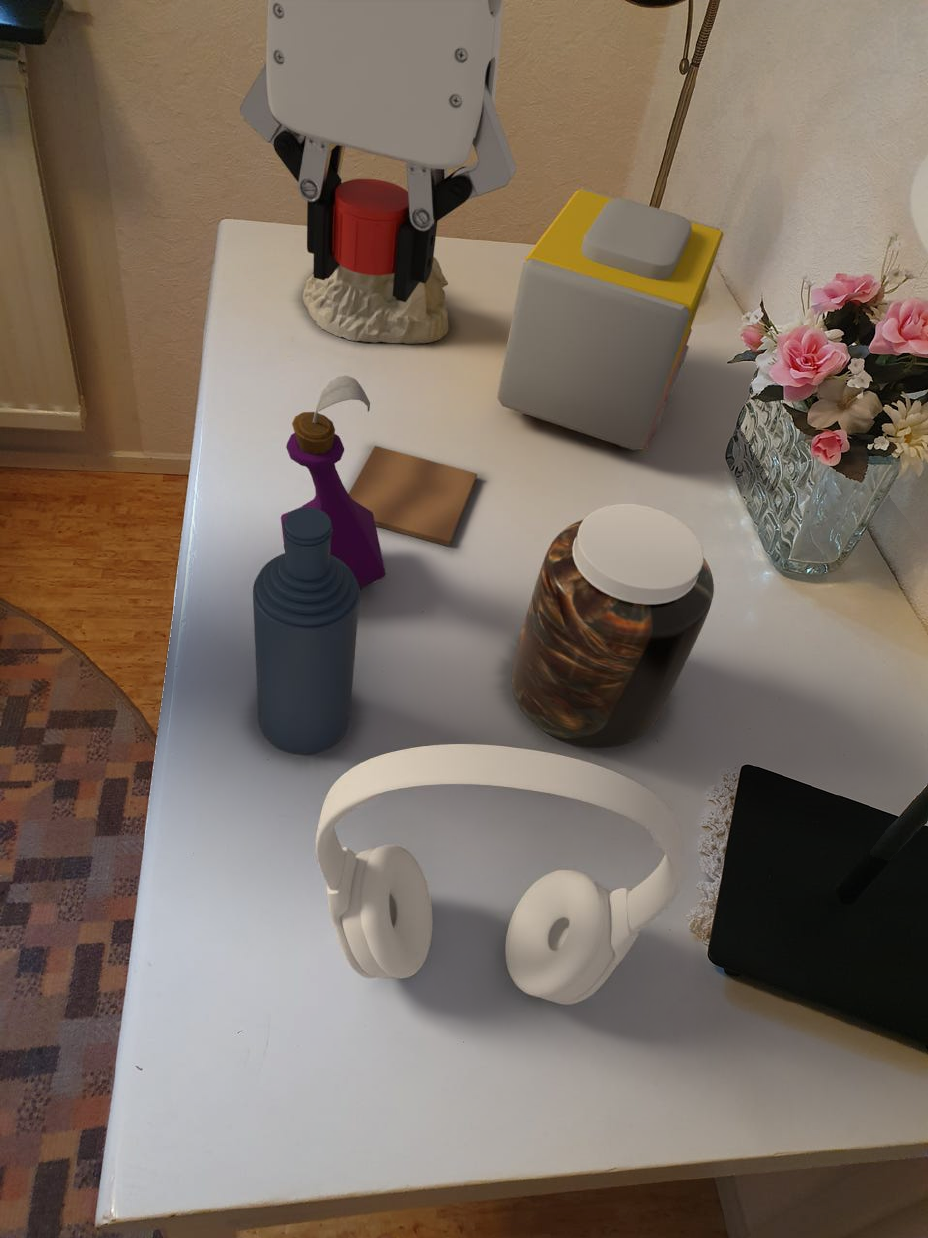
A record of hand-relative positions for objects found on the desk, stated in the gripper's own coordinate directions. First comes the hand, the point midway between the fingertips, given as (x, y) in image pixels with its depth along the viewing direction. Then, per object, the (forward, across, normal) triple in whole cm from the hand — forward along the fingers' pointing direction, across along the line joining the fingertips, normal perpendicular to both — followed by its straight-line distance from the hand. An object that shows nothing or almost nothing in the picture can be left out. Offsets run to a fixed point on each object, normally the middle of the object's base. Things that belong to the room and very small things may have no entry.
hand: (368, 275), depth 50 cm
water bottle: (+29, 0, +8) cm, 31 cm away
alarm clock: (+30, -12, -41) cm, 52 cm away
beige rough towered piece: (+30, +14, -47) cm, 58 cm away
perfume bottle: (+30, +3, -6) cm, 30 cm away
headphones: (+30, -15, +21) cm, 39 cm away
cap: (-1, 0, 0) cm, 1 cm away
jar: (+30, -19, -2) cm, 35 cm away
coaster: (+29, 0, -18) cm, 34 cm away
